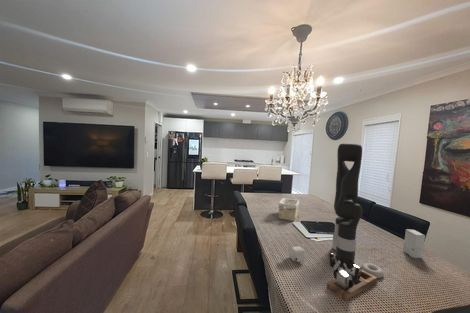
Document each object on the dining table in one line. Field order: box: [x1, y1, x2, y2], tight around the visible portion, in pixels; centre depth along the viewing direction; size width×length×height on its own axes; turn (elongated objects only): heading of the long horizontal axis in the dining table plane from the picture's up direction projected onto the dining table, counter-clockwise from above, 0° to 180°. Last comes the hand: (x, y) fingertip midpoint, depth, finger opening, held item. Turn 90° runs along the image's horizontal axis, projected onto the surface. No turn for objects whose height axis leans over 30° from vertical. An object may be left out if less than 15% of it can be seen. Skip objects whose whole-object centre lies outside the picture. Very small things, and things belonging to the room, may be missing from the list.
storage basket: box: [278, 197, 300, 222], centre depth 191 cm, size 24×16×15 cm
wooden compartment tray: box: [326, 270, 378, 302], centre depth 98 cm, size 9×26×3 cm, turn 121°
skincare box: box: [402, 228, 426, 259], centre depth 129 cm, size 8×6×15 cm
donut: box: [360, 262, 385, 279], centre depth 109 cm, size 10×4×10 cm
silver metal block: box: [336, 269, 350, 291], centre depth 93 cm, size 4×4×8 cm
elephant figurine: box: [287, 243, 307, 263], centre depth 118 cm, size 10×12×9 cm
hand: (343, 282), depth 93 cm, fingers open, 6 cm apart
